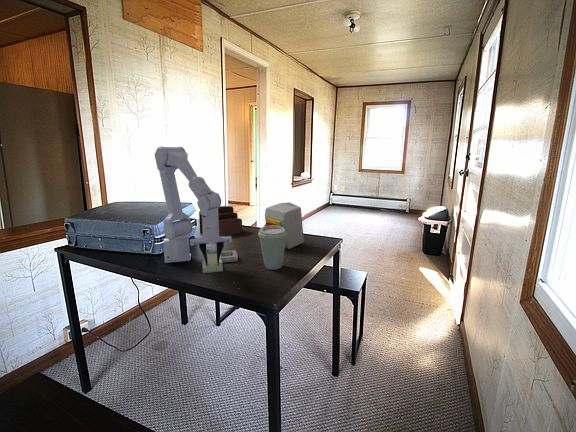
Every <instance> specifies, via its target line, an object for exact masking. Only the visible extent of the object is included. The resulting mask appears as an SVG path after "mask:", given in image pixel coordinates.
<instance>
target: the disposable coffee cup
mask: <svg viewBox="0 0 576 432" xmlns="http://www.w3.org/2000/svg"><path fill="white" fill-rule="evenodd" d="M257 233H258V234H257V236H259V242H260V247H261V253H262V259H263V263H264V267H265V268H266V269H268V270H278V269H281V268H282V266H283V264H284V256H285V249H286V248H285V242H286V235H287V232H286V231H285V229H284V228H283V227H280V226H275V225H271V226H264V225H263V226H262V227H261V228H259V231H258V232H257Z"/></svg>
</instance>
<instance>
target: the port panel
mask: <svg viewBox="0 0 576 432" xmlns="http://www.w3.org/2000/svg"><path fill="white" fill-rule="evenodd" d="M219 259H221V260H222V264H223V263H224V264H225V263H233V262H235V263H236V262H239V256H238V253H237V250H236V249H235V250H234V249H233V250H222V252H221V254H220V258H219Z"/></svg>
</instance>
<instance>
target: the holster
mask: <svg viewBox="0 0 576 432" xmlns="http://www.w3.org/2000/svg"><path fill="white" fill-rule="evenodd" d="M201 261H202V273H203V274H205V273H206V274H207V273H217V272H218V273H219V272H223V271H224V266H223V263H222V260H221V259H219V263H217V265H215V266H208V264H206V262H205V260H201Z"/></svg>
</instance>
